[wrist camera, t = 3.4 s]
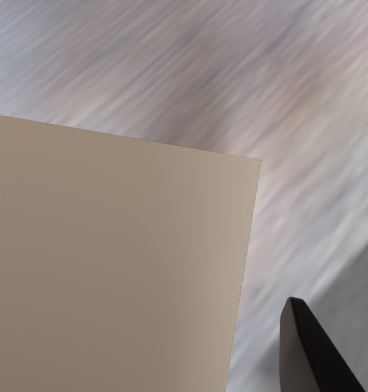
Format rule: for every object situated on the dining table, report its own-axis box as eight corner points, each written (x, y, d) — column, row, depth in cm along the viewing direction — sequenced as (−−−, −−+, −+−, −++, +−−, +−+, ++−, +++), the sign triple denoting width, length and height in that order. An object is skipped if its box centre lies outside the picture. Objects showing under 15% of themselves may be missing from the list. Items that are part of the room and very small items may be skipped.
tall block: (202, 331, 17) (205, 515, 4) (112, 311, 17) (-131, 418, 5) (219, 239, 18) (261, 159, 5) (134, 222, 18) (-15, 112, 6)
